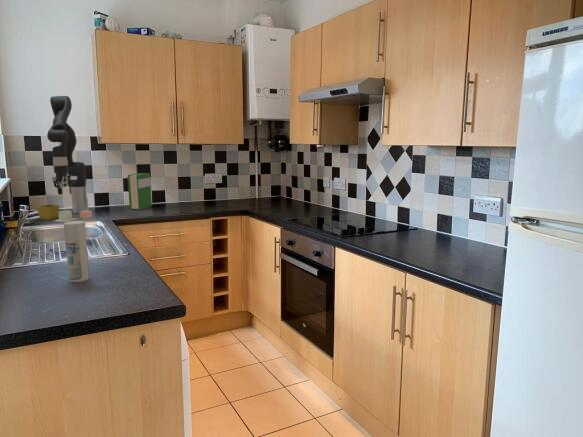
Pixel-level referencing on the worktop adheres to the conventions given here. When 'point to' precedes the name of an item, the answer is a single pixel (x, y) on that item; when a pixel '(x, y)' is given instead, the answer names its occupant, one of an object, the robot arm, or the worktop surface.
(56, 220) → the birch board
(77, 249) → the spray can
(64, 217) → the sage brick
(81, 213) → the coral brick
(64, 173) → the robot arm
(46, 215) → the flower pot
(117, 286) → the worktop surface
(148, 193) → the hardback book
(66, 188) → the cream brick
